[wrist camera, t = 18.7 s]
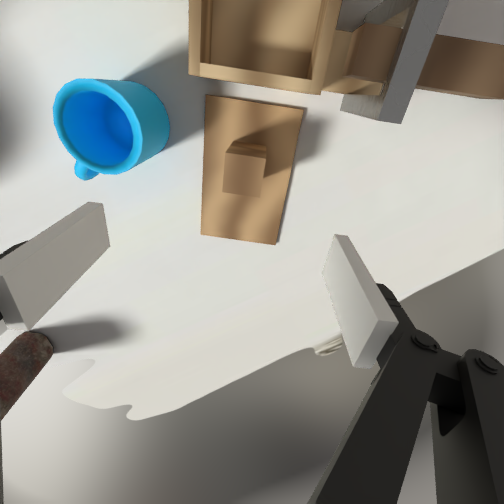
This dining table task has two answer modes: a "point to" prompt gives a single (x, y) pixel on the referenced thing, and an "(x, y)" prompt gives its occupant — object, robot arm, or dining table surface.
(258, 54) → the toolbox
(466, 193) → the dining table surface
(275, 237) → the lid
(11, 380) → the brown piece
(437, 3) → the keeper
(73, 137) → the mug
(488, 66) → the bar
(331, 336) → the dining table surface
